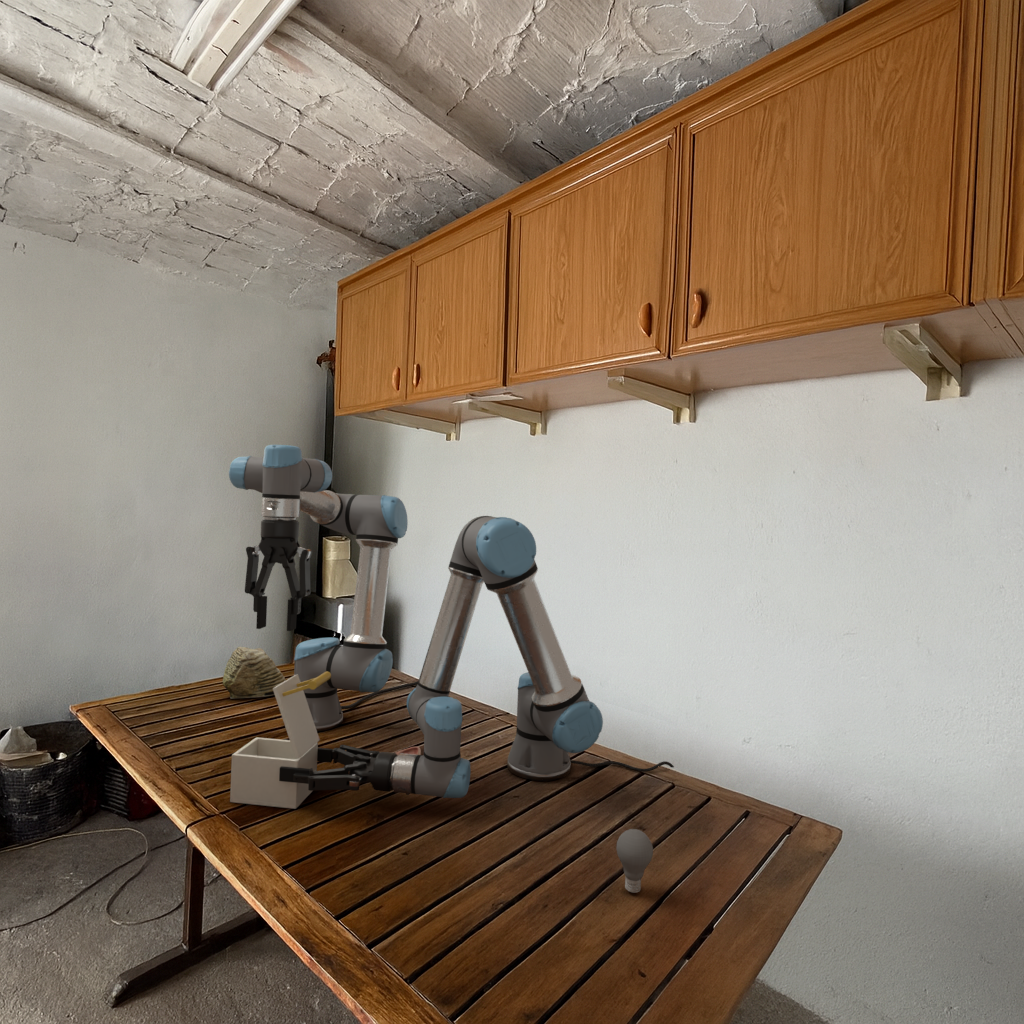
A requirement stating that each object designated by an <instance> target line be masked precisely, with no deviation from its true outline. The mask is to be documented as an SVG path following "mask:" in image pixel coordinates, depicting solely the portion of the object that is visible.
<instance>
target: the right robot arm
mask: <svg viewBox="0 0 1024 1024" xmlns="http://www.w3.org/2000/svg"><path fill="white" fill-rule="evenodd" d="M536 556H537V544H536V539H535V537H534V535H533V533H532V531H531V530H530V529H529V528H528V527H527V526H526V525H525V524H523V523H522V522H520V521H518V520H515V519H514V518H511V517H506V516H499V517H497V516H492V515H479V516H476V517H474V518H471V519H470V520H469V521H468V522H467V523H466V524H465V525H464V526H463V527H462V529H461V530H460V532H459V534H458V536H457V539H456V542H455V544H454V547H453V551H452V554H451V558H450V560H449V564H448V567H447V569H448V571H449V572H450V575H449V579H448V581H447V586H446V589H445V591H444V596H443V599H442V602H441V605H440V608H439V612H438V615H437V618H436V622H435V625H434V628H433V632H432V635H431V638H430V642H429V645H428V648H427V652H426V655H425V658H424V662H423V665H422V668H421V671H420V675H419V677H418V680H417V681H418V683H417V685H415V686H416V687H414V688H413V689H412V690H411V691H410V692H409V694H408V696H407V697H406V704H405V705H406V707H407V711H408V714H409V717H410V718H411V720H412V721H413V722H414V723H415V724H416V726H417V727H418V728H419V730H420V731H421V732H422V734H423V737H424V738H423V755H422V754H421V755H416V754H405V753H400V754H399V755H397V754H396V753H395V752H388V751H379V750H368V749H364V748H359V747H355V746H351V745H346V744H340V745H339V747H334V748H329V747H328V748H327V747H318V753H317V762H322V763H329V764H330V763H333V765H335V764H337V763H338V764H341V765H343V767H338V768H331V769H323V770H317V771H314V772H313V769H312V768H311V769H306V768H294V767H284V766H281V767H280V773H279V781H284V782H295V783H305V784H308V790H310V791H312V792H313V791H340V790H342V791H344V790H349V791H356V792H357V791H359V790H360V785H361V784H368V783H370V784H371V786H372V789H373V790H374V791H376V792H386V793H391V792H392V791H393V792H394V793H399V794H400V793H401V794H405V795H406V796H409V795H419V796H429V797H439V798H443V799H446V798H447V799H463V798H465V796H466V795H467V794H468V791H469V788H470V783H471V772H472V771H471V770H472V769H471V762H470V760H469V759H466V758H464V757H462V756H461V745H462V744H461V743H462V725H463V724H462V723H463V720H464V719H463V705H462V702H461V701H460V700H459V699H457V698H454V697H451V696H450V692H451V689H452V685H453V681H454V678H455V675H456V673H457V669H458V665H459V663H460V659H461V655H462V653H463V650H464V645H465V644H466V640H467V636H468V632H469V629H470V626H471V624H472V621H473V620H472V619H473V617H474V613H475V610H476V607H477V603H478V600H479V597H480V593H481V591H482V587H483V585H485V587H486V590H487V591H489V592H492V593H495V594H496V595H497V598H498V600H499V603H500V605H501V608H502V611H503V613H504V615H505V618H506V620H507V623H508V625H509V628H510V630H511V633H512V635H513V638H514V640H515V643H516V646H517V647H518V650H519V653H520V655H521V657H522V660H523V663H524V665H525V668H526V671H527V672H524V673H522V674H521V675H520V676H519V679H518V685H517V702H516V703H517V705H516V706H517V707H516V730H515V737H514V739H513V741H512V743H511V747H510V749H509V753H508V755H507V769H508V770H509V771H510V772H511V773H512V774H513V775H515V776H517V777H520V778H521V779H526V780H529V781H537V782H549V781H555V780H559V779H563V778H565V777H566V776H568V775H569V774H570V772H571V764H574V765H580V766H585V767H591V768H595V767H596V768H598V767H603V766H604V767H605V766H609V765H610V766H611V765H613V766H620V767H622V768H623V767H624V768H626V769H628V770H632V771H635V772H641V773H648V772H652V771H655V770H656V769H658V768H660V767H661V766H665V765H666V766H669V767H670V768H674V767H675V766H674V764H673V763H671V762H669V761H667V760H665V761H660V762H659V763H657V764H655V765H653V766H650V767H647V768H641V767H640V768H639V767H635V766H633V765H629V764H626V763H625V762H620V761H611V760H610V761H603V762H602V761H601V762H597V763H592V762H591V763H589V762H585V761H580V760H574V759H571V758H570V754H578V753H579V754H580V753H582V752H585V751H587V750H589V749H590V748H591V747H592V746H593V745H595V743H596V742H597V740H598V739H599V737H600V734H601V732H602V730H603V724H604V723H603V722H604V719H603V714H602V712H601V710H600V708H599V707H598V706H597V705H596V703H594V702H593V701H590V699H589V697H588V694H587V692H586V690H585V687H584V684H583V682H582V679H581V678H580V677H578V676H577V675H574V674H572V672H571V670H570V667H569V664H568V662H567V660H566V656H565V654H564V651H563V649H562V647H561V644H560V641H559V639H558V636H557V634H556V631H555V628H554V626H553V623H552V622H551V621H552V620H551V619H550V616H549V613H548V611H547V608H546V605H545V603H544V600H543V598H542V595H541V592H540V590H539V587H538V585H537V583H536V579H535V577H536V575H537V573H538V572H539V571H538V570H539V567H538V565H537V562H536V560H535V558H536ZM569 753H570V754H569ZM658 766H659V767H658Z"/></svg>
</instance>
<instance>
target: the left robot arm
mask: <svg viewBox="0 0 1024 1024" xmlns="http://www.w3.org/2000/svg"><path fill="white" fill-rule="evenodd" d="M302 451H303V450H302V449H301V448H300V447H299V446H296V445H290V444H289V445H287V444H268V445H266V446H265V447H264V451H263V456H253V455H248V456H238V457H236V458H234V459H233V460H232V461H231V463H230V464H229V470H228V477H229V481H230V483H231V484H232V486H233V487H234V488H237V489H241V490H245V491H248V490H253V491H256V492H259V493H261V494H262V495H261V517H262V518H263V519H262V520H261V521H260V541H259V542H258V544H257V545H252V546H246V548H245V552H246V558H247V563H246V571H245V572H246V574H245V581H244V582H245V583H244V593H245V594H247V595H248V594H249V595H251V596H252V597H253V607H252V610H253V612H254V613H256V626H255V627H256V630H261V629H263V628H266V627H267V615H268V614H267V613H268V611H267V610H268V595H266V592H265V591H266V588H267V585H268V583H269V579H270V577H271V575H272V571H273V568H274V566H275V564H276V563H277V564H281V566H282V568H283V569H284V573H285V576H286V577H285V578H286V580H287V584H288V587H289V588H288V589H289V593H290V596H291V597H290V598H288V599H287V614H286V616H287V617H286V632H291V631H294V630H296V629H297V615H300V614H301V612H302V599H303V598H305V597H307V596H310V595H311V591H312V590H311V557H312V556H313V555H312V554H313V550H312V549H311V548H305V547H302V546H301V545H300V542H299V535H300V522H299V520H297V519H298V518H300V514H301V513H300V512H302V513H304V514H306V515H308V516H309V517H310V519H311V520H312V521H313V522H314V523H316V524H319V525H320V526H323V527H324V528H327V529H330V530H332V531H334V532H338V533H340V534H344V535H351V536H355V542H356V543H357V545H358V546H359V548H360V549H359V557H358V565H357V566H358V567H357V575H356V582H355V591H354V598H353V599H354V600H353V608H352V616H351V617H352V618H351V626H350V633H349V634H348V635H347V636H346V637H345V638H344V639H343V644H340V643H341V641H340V639H339V638H338V637H318V638H313V639H307V640H304V641H302V642H299V643H298V644H297V645H296V647H295V652H294V653H295V654H294V659H293V661H294V672H293V676H294V675H297V674H298V676H299V679H300V682H304V681H307V680H310V679H313V678H316V677H318V676H320V675H321V674H323V673H324V672H326V671H328V672H330V673H331V678H330V679H329V680H327V681H326V682H324V683H323V684H321V685H320V686H319V687H317V688H316V689H314V690H312V689H310V688H308V689H305V690H303V691H304V694H305V697H306V700H307V703H308V706H309V709H310V712H311V715H312V718H313V721H314V724H315V727H316V730H317V733H318V732H325V731H329V730H332V729H335V728H337V727H339V726H340V725H342V723H343V722H344V714H343V710H349V709H352V708H354V707H356V706H357V705H359V704H360V703H362V702H364V701H366V700H368V699H370V698H373V697H374V696H376V695H380V694H383V693H388V692H392V691H395V690H401V689H404V688H409V687H413V686H417V683H418V681H419V680H417V681H414V682H410V683H406V684H401V685H396V686H392V687H388V688H387V687H386V688H384V687H385V685H386V684H387V682H388V680H389V678H390V675H391V673H392V669H393V664H394V658H393V652H392V651H391V650H389V649H387V645H388V644H387V643H388V642H387V640H386V639H385V638H384V637H383V630H384V621H385V612H386V603H387V594H388V584H389V575H390V567H391V558H392V551H393V550H394V548H396V547H397V546H398V543H399V539H402V538H403V537H405V536H406V534H407V531H408V525H409V524H408V513H407V508H406V506H405V504H404V501H402V499H400V497H397V496H392V495H385V494H354V493H337V492H334V491H332V490H327V489H328V488H329V487H330V485H331V484H332V480H333V472H332V469H331V466H330V465H329V464H328V463H326V461H323V460H320V459H318V458H309V457H308V458H307V457H303V453H302ZM260 554H262V555H263V560H262V562H261V568H260V572H259V563H260V562H259V561H260ZM297 554H298V558H299V561H298V562H299V563H298V565H299V567H298V568H299V569H298V570H299V577H298V573H297V569H296V561H295V556H296V555H297ZM258 572H259V574H258ZM306 685H308V684H306ZM303 686H305V685H303ZM383 688H384V689H383ZM338 690H344V691H345V690H346V691H354V692H360V693H370V694H368V695H366V696H363V697H361V698H360V699H358V700H357V701H355V702H353V703H351V704H347V705H341V702H340V699H339V695H338Z"/></svg>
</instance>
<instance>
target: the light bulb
mask: <svg viewBox="0 0 1024 1024" xmlns="http://www.w3.org/2000/svg"><path fill="white" fill-rule="evenodd" d="M615 849H616V854H617V857H618V859H619V861H620V863H621V865H622V867H623V873H624V874H623V875H624V876H625V878H624V888H625V890H627V891H628V892H630V893H634V894H635V893H639V892H640V891H641V889H642V887H641V886H642V879H643V877H644V875H645V871H646V868H647V867H648V866H649V864H650V863H651V861H652V859H653V855H654V847H653V843H652V841H651V838H649V836H648V835H647V834H646V833H645V832H643V831H642V830H641V829H636V828H629V829H627V830H625V831H623V832H622V833H621V834H620V835H619V837H618V839H617V841H616V847H615Z"/></svg>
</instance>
